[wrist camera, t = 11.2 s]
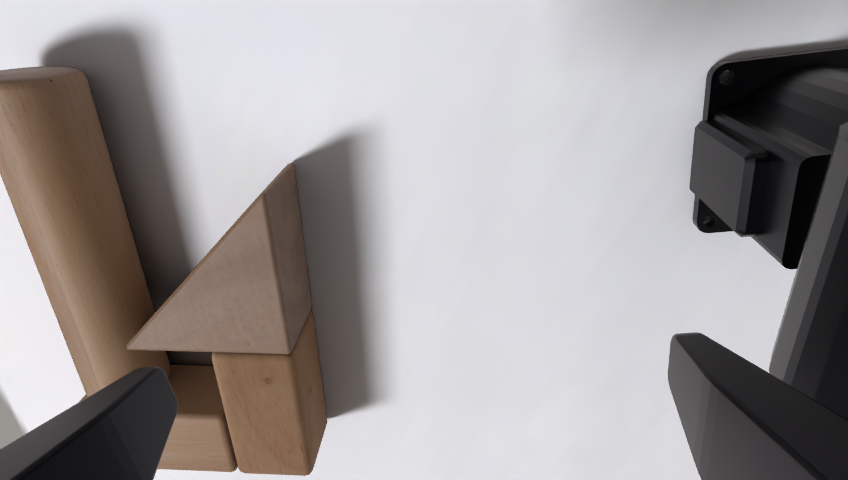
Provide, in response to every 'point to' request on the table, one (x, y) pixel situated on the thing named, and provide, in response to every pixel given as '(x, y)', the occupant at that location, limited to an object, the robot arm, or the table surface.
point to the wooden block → (186, 307)
